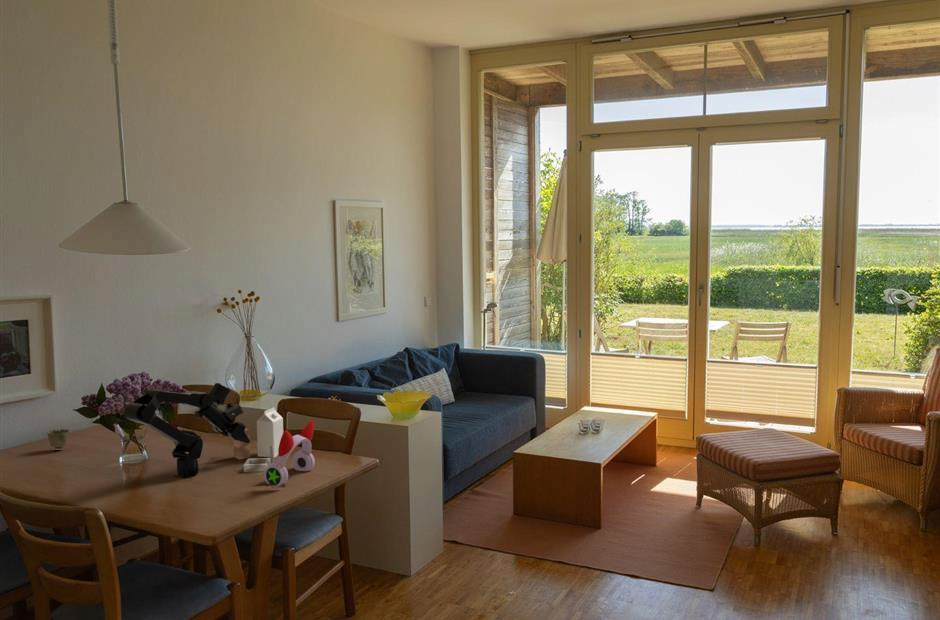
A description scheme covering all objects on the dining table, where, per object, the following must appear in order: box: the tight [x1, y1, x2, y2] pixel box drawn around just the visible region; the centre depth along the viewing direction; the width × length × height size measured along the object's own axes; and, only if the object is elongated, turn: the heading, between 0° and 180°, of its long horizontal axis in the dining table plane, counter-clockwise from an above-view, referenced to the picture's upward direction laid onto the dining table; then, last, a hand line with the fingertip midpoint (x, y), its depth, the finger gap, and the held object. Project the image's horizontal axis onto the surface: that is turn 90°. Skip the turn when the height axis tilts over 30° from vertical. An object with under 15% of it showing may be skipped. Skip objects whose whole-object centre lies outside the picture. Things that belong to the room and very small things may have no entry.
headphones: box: [263, 419, 316, 488], centre depth 266 cm, size 20×10×20 cm, turn 159°
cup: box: [47, 428, 69, 450], centre depth 307 cm, size 8×7×8 cm
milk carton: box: [256, 406, 284, 458], centre depth 293 cm, size 7×7×19 cm
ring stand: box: [232, 446, 275, 476], centre depth 275 cm, size 12×12×10 cm
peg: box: [232, 427, 251, 460], centre depth 290 cm, size 4×4×12 cm
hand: (244, 439), depth 291 cm, fingers open, 9 cm apart
